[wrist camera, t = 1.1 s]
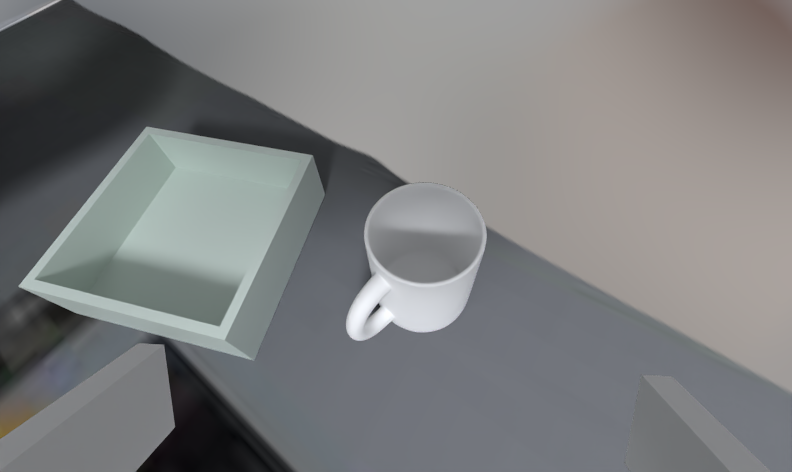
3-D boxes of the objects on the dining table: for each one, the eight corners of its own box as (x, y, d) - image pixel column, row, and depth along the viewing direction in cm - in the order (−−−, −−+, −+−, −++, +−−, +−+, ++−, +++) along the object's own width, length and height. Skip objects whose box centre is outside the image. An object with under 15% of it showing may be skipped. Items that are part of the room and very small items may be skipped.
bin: (76, 313, 35) (18, 286, 30) (177, 166, 44) (146, 126, 38) (254, 360, 32) (224, 340, 27) (325, 194, 41) (312, 155, 36)
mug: (391, 389, 31) (383, 358, 22) (325, 318, 34) (294, 266, 25) (486, 289, 35) (512, 228, 26) (419, 234, 38) (422, 163, 29)
